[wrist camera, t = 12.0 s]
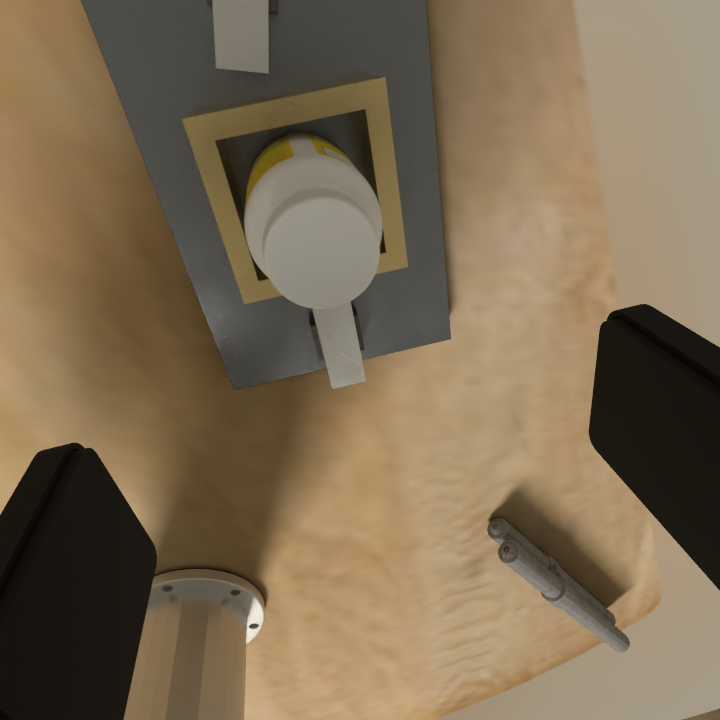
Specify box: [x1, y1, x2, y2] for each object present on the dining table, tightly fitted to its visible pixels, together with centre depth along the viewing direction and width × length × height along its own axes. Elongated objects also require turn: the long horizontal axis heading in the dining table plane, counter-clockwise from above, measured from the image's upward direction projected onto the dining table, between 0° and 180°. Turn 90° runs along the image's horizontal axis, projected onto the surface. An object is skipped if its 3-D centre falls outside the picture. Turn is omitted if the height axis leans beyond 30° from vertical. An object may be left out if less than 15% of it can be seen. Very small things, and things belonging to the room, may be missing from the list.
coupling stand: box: [81, 0, 451, 390], centre depth 24 cm, size 22×14×4 cm, turn 10°
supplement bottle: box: [244, 132, 382, 309], centre depth 20 cm, size 5×5×10 cm
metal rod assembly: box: [487, 518, 630, 652], centre depth 48 cm, size 26×3×5 cm, turn 40°
